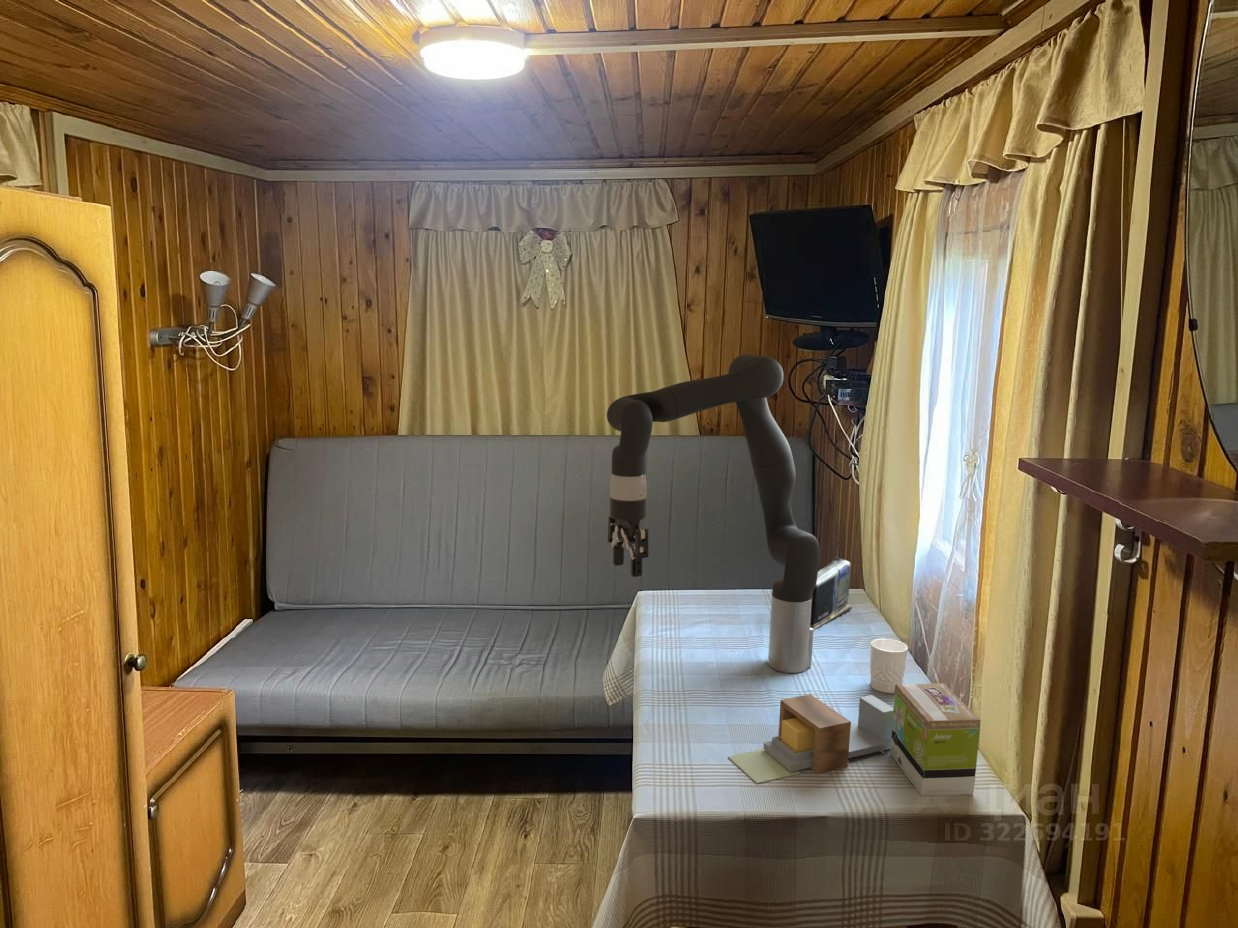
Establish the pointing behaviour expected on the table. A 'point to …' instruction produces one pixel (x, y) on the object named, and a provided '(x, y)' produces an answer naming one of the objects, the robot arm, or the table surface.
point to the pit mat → (865, 756)
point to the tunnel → (820, 730)
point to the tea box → (935, 739)
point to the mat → (761, 766)
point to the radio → (830, 593)
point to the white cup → (887, 664)
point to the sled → (864, 736)
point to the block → (797, 735)
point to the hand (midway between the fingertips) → (627, 570)
